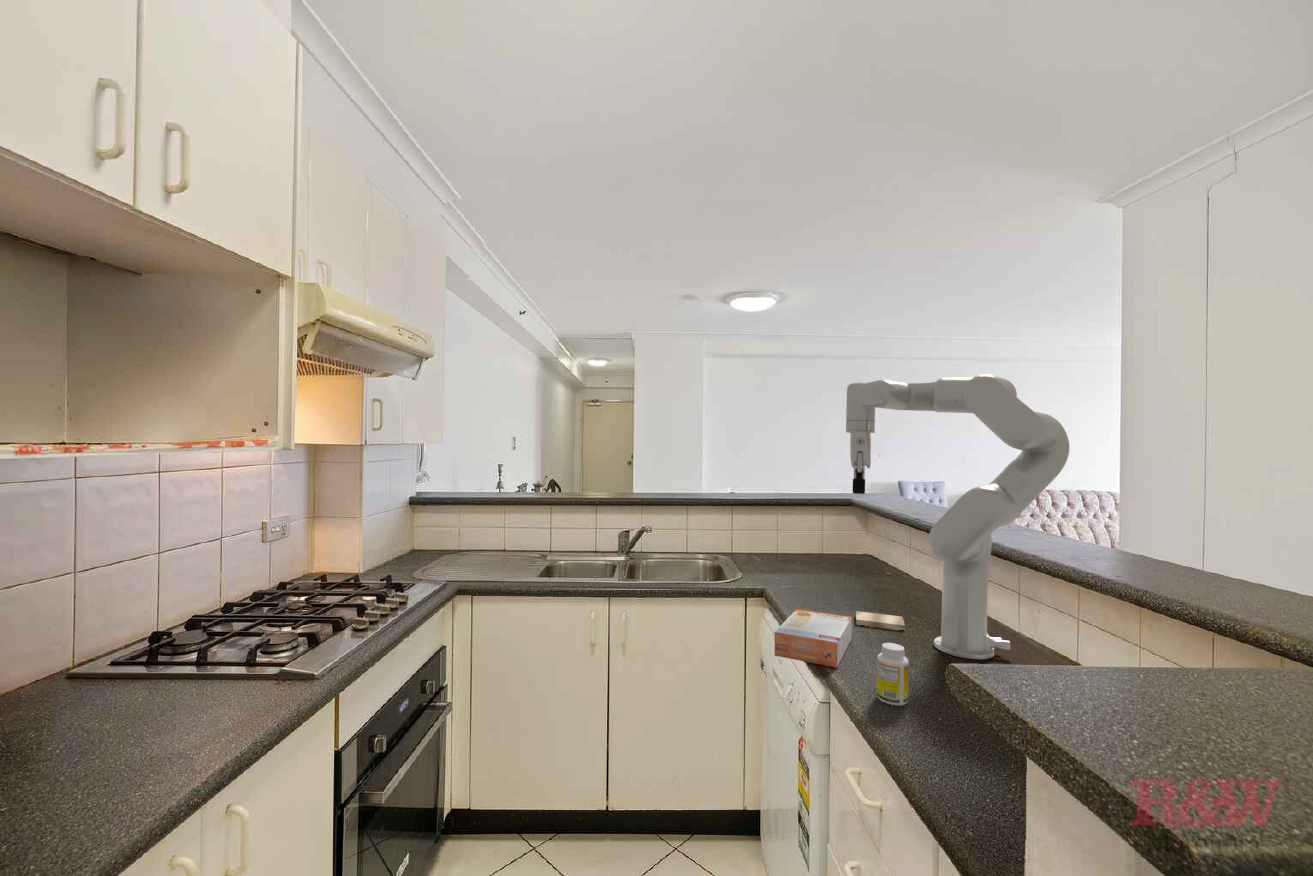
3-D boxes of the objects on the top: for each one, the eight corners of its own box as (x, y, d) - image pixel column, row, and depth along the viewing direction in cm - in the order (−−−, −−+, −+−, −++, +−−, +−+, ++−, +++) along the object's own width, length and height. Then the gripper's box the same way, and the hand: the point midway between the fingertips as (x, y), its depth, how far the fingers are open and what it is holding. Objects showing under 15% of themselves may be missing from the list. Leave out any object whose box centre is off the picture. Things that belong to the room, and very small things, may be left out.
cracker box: (796, 631, 143) (772, 656, 125) (796, 607, 143) (773, 629, 125) (852, 641, 136) (837, 669, 118) (853, 616, 137) (837, 641, 118)
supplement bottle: (898, 693, 108) (899, 641, 108) (914, 707, 102) (915, 651, 102) (870, 693, 107) (872, 641, 107) (885, 707, 102) (886, 652, 102)
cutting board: (902, 622, 152) (902, 616, 152) (904, 631, 144) (905, 625, 144) (856, 616, 156) (856, 611, 156) (856, 625, 148) (856, 619, 148)
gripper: (876, 426, 145) (874, 496, 145) (873, 428, 159) (871, 492, 159) (845, 426, 147) (844, 495, 147) (845, 428, 161) (844, 490, 161)
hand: (858, 493), depth 153 cm, fingers closed
